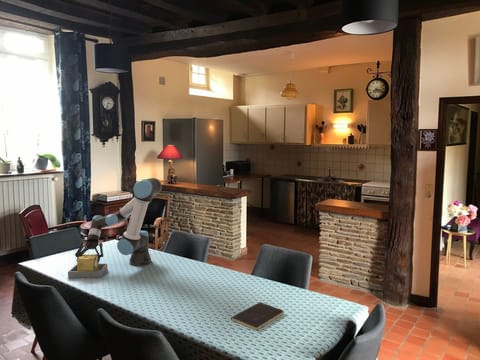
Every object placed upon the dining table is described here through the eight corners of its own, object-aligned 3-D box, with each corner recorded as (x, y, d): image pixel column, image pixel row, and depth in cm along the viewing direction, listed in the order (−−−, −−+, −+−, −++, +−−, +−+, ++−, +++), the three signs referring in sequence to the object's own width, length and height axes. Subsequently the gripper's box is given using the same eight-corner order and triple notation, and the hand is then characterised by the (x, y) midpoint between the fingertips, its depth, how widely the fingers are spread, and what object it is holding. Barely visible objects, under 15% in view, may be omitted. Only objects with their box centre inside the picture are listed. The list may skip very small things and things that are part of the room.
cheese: (93, 274, 239) (92, 259, 238) (76, 273, 239) (75, 258, 238) (99, 268, 250) (98, 254, 248) (83, 268, 250) (82, 253, 249)
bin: (107, 270, 253) (107, 263, 252) (100, 278, 238) (100, 271, 237) (77, 270, 252) (76, 263, 251) (68, 278, 237) (67, 271, 236)
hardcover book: (283, 314, 192) (283, 310, 192) (256, 331, 175) (256, 327, 174) (259, 305, 202) (259, 301, 202) (230, 321, 185) (230, 316, 185)
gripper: (112, 239, 259) (106, 268, 245) (78, 239, 257) (70, 269, 244) (109, 233, 253) (103, 263, 239) (75, 233, 251) (66, 263, 238)
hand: (86, 266), depth 241 cm, fingers closed on cheese, 11 cm apart
